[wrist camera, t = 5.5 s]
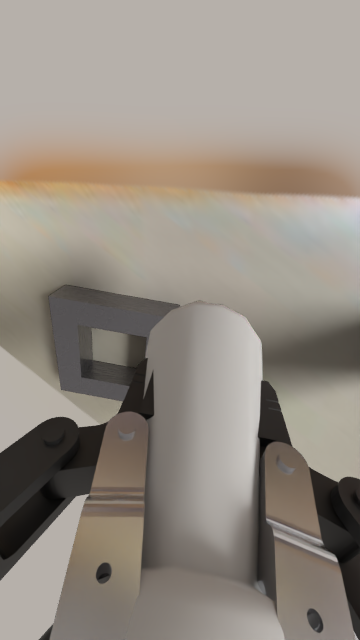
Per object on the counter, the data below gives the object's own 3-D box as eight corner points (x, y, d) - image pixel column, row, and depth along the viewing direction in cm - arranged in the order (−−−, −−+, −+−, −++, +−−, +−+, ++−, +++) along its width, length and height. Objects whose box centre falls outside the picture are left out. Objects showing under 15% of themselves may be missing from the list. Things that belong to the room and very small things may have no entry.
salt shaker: (136, 318, 14) (-141, 799, 3) (219, 264, 12) (301, 1173, 1) (193, 382, 16) (148, 825, 5) (272, 346, 14) (507, 967, 3)
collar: (180, 304, 29) (176, 319, 26) (166, 389, 36) (162, 408, 32) (65, 284, 29) (48, 296, 26) (73, 372, 36) (61, 389, 33)
